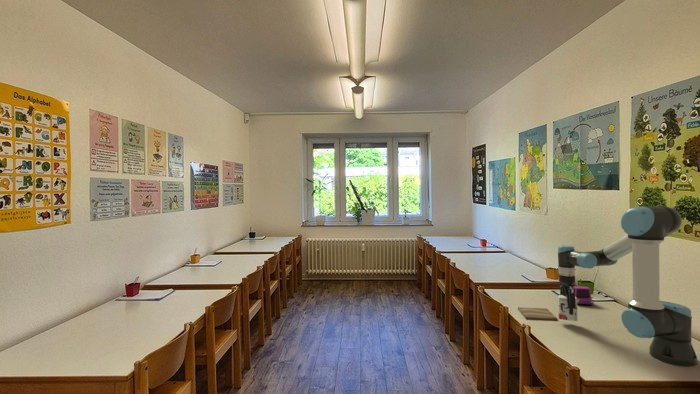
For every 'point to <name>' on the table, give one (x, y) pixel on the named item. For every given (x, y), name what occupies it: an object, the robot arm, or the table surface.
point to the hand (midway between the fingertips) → (568, 318)
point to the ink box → (565, 308)
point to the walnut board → (537, 313)
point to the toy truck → (583, 295)
